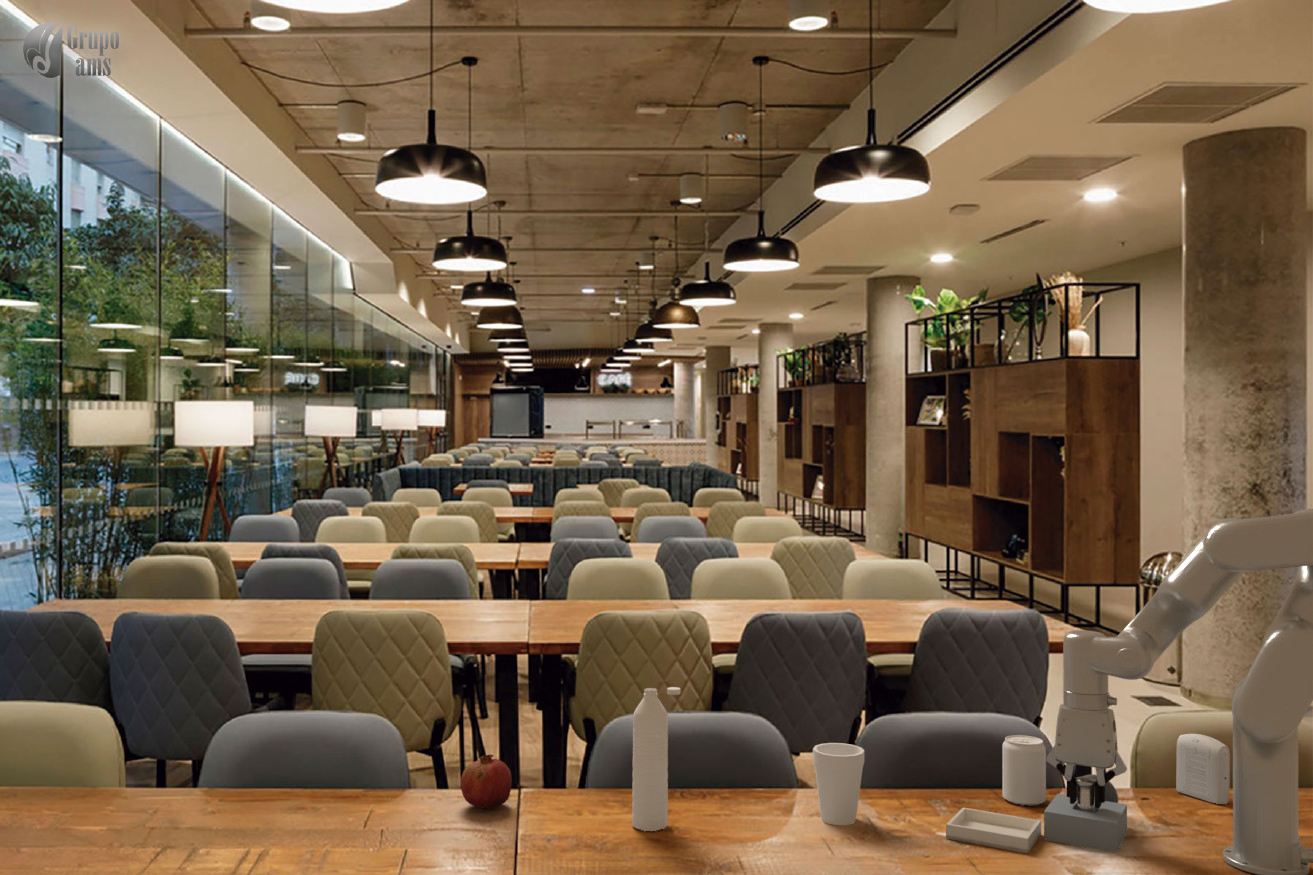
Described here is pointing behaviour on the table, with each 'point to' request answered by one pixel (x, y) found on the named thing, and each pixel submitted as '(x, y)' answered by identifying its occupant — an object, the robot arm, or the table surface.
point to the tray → (994, 830)
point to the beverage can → (1024, 770)
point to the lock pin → (1085, 793)
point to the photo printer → (1203, 768)
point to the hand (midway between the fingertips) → (1085, 802)
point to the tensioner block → (1087, 822)
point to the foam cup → (838, 781)
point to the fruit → (486, 783)
